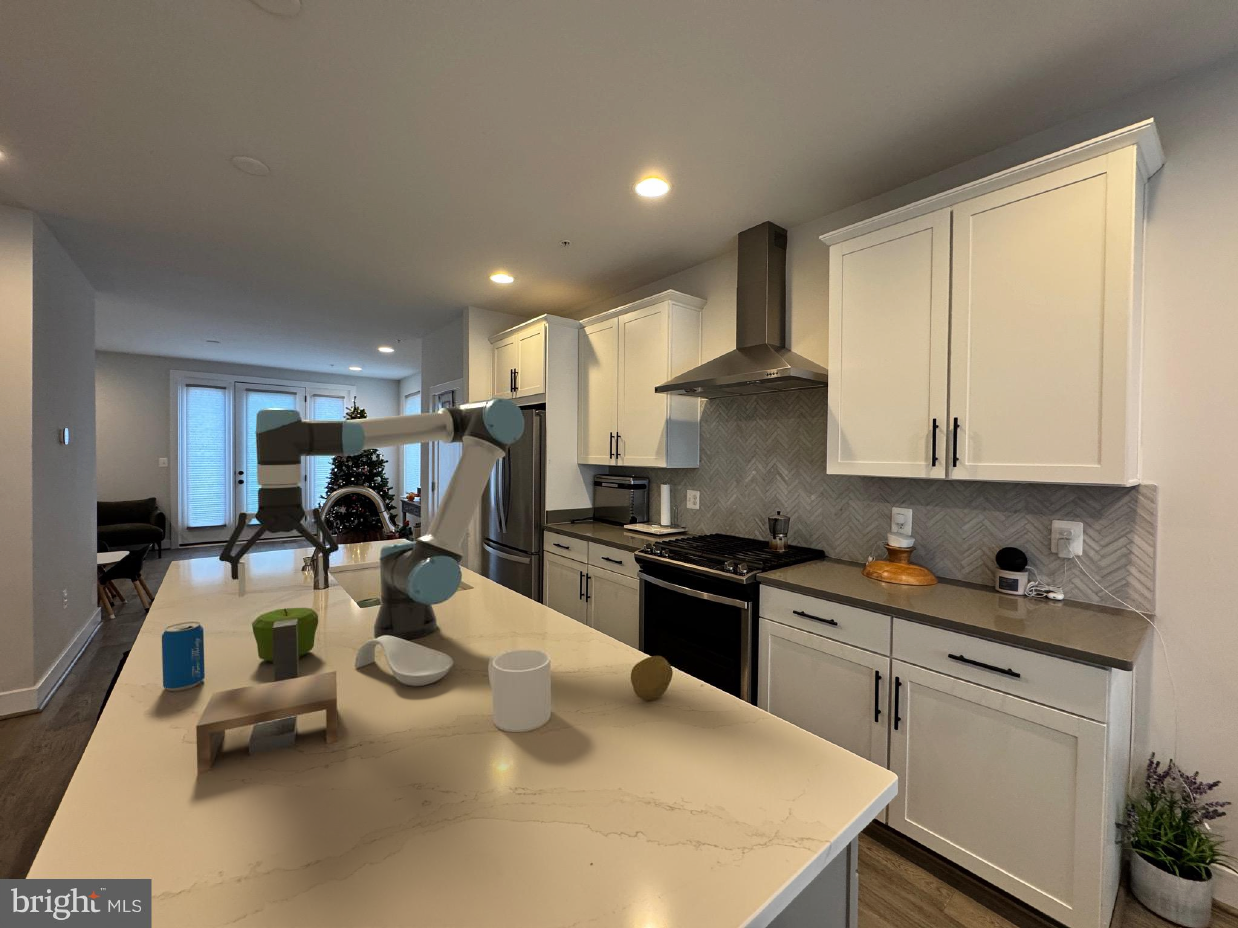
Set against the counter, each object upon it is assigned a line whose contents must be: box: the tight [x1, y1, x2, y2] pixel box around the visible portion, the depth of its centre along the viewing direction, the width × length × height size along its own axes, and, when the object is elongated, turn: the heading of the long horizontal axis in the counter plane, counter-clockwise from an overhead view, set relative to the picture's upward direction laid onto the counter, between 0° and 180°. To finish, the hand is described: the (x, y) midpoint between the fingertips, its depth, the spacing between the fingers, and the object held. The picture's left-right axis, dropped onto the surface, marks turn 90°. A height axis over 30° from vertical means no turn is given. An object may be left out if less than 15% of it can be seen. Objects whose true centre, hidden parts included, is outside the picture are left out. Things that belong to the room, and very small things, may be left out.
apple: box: [251, 607, 319, 663], centre depth 121 cm, size 12×12×11 cm
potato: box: [630, 655, 674, 702], centre depth 100 cm, size 7×8×8 cm
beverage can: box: [161, 621, 206, 692], centre depth 106 cm, size 6×6×12 cm
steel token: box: [248, 715, 298, 756], centre depth 86 cm, size 6×6×2 cm
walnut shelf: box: [195, 670, 338, 774], centre depth 87 cm, size 18×12×7 cm, turn 118°
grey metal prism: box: [272, 619, 300, 682], centre depth 101 cm, size 5×20×12 cm, turn 28°
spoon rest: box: [354, 635, 454, 687], centre depth 111 cm, size 24×12×7 cm, turn 64°
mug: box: [487, 648, 552, 733], centre depth 94 cm, size 13×10×10 cm
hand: (283, 590), depth 108 cm, fingers open, 13 cm apart
